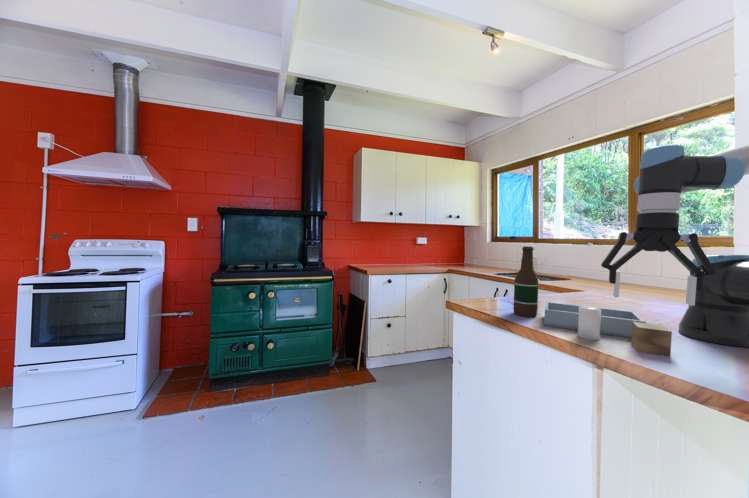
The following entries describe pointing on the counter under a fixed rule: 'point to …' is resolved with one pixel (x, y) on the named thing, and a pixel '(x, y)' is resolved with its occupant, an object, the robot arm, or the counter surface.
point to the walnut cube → (651, 338)
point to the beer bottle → (526, 286)
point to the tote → (610, 319)
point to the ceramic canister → (589, 323)
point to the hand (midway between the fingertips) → (651, 300)
